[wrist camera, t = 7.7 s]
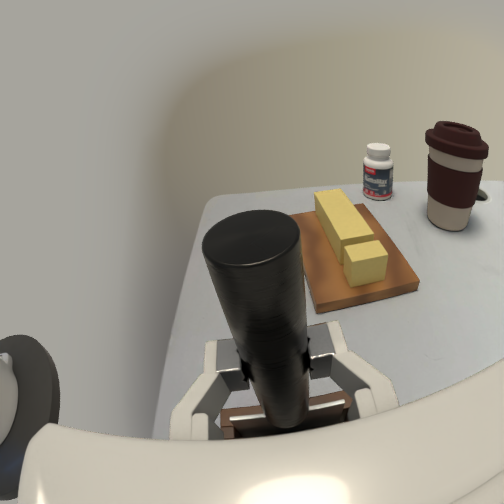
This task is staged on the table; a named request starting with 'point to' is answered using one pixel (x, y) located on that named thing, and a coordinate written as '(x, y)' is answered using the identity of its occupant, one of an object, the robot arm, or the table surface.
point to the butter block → (341, 221)
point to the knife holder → (233, 433)
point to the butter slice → (365, 263)
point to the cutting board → (331, 272)
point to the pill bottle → (378, 172)
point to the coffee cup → (453, 173)
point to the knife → (267, 318)
